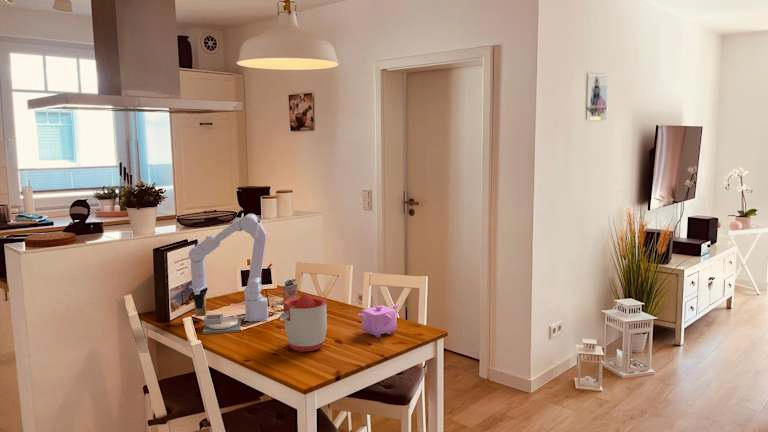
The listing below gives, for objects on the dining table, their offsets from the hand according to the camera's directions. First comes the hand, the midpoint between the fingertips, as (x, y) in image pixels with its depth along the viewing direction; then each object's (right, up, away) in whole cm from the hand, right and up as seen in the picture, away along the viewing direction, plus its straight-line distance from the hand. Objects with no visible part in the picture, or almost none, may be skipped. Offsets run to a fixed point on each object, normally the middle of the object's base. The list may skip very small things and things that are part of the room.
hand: (200, 307), depth 251 cm
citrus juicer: (+48, -10, -32) cm, 58 cm away
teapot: (+75, -8, -18) cm, 77 cm away
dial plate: (+12, -7, -9) cm, 16 cm away
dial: (+11, -6, -9) cm, 15 cm away
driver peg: (0, -3, 0) cm, 3 cm away
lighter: (+33, -2, +29) cm, 44 cm away
